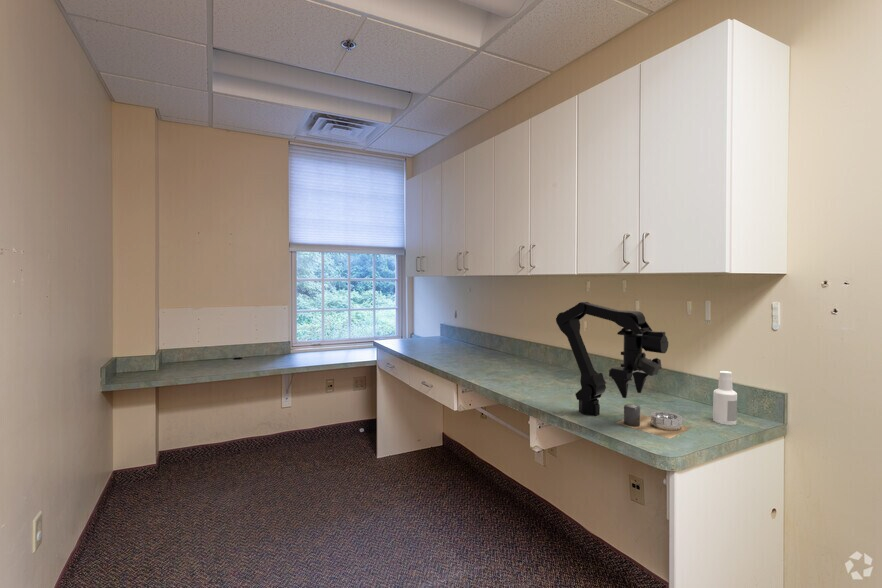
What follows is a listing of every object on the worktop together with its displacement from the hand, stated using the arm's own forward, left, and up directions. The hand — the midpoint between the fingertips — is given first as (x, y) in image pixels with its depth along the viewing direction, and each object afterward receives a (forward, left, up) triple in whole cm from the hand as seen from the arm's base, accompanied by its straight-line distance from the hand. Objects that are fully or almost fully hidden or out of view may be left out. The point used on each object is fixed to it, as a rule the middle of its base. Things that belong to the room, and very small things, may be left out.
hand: (631, 395), depth 146 cm
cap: (0, 0, -10) cm, 10 cm away
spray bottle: (+18, +27, -11) cm, 34 cm away
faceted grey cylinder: (+8, +7, -10) cm, 15 cm away
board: (+5, +5, -11) cm, 13 cm away
